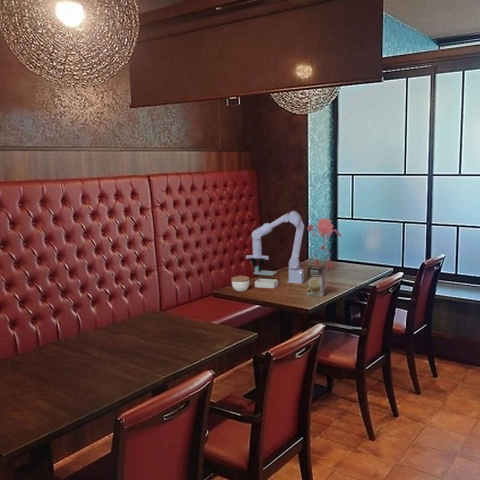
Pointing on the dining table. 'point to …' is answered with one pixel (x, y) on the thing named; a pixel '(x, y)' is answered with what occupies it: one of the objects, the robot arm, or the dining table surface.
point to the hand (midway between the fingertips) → (257, 270)
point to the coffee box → (316, 281)
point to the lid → (263, 272)
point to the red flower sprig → (323, 228)
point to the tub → (266, 283)
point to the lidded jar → (240, 283)
